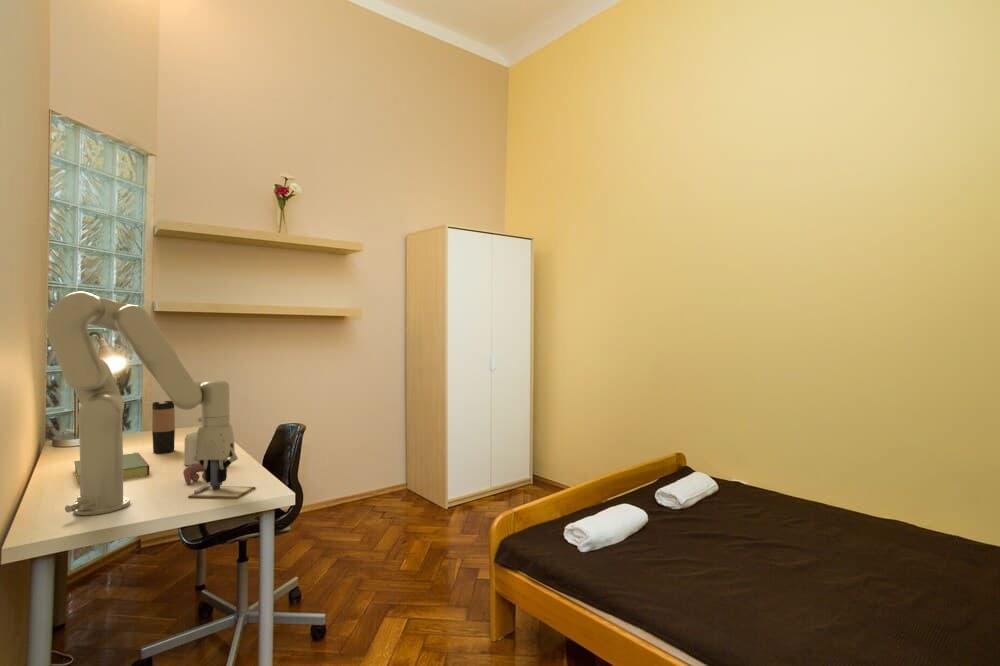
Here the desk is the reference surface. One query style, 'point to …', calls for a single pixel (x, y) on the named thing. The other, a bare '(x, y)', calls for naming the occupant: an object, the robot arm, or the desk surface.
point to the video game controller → (193, 472)
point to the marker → (214, 474)
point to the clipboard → (221, 492)
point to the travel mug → (163, 427)
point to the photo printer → (190, 448)
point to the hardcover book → (127, 466)
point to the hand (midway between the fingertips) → (216, 480)
